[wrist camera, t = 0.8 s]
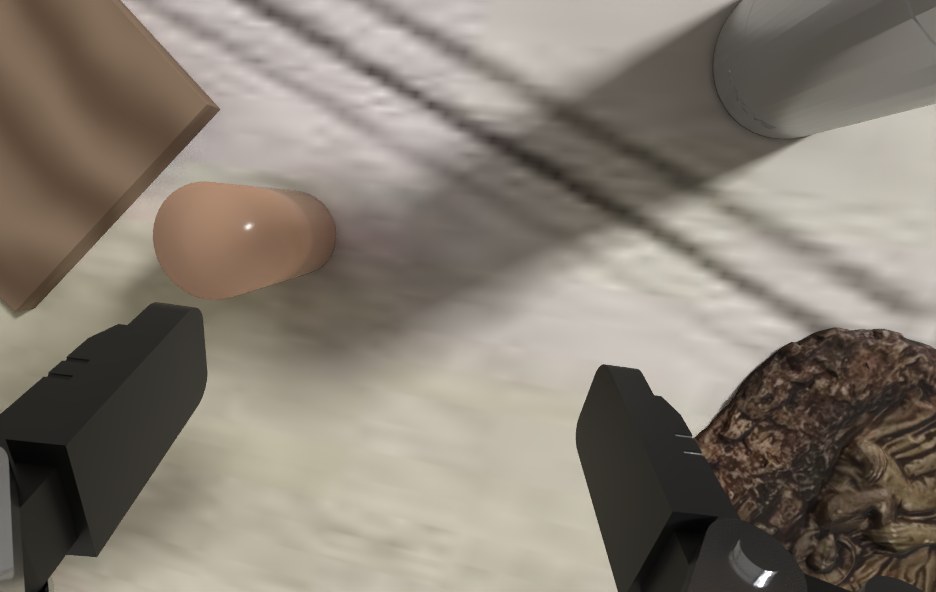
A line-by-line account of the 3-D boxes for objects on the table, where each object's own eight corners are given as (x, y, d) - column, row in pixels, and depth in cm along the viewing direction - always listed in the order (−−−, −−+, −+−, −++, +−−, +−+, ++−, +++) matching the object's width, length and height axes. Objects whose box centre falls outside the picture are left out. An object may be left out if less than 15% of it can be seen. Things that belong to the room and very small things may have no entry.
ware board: (40, -88, 31) (17, -103, 30) (220, 109, 32) (206, 104, 31) (-136, 136, 34) (-165, 133, 33) (34, 308, 36) (14, 312, 34)
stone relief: (1202, 607, 30) (773, 843, 34) (1112, 556, 34) (742, 772, 39) (947, 274, 27) (527, 575, 32) (886, 266, 32) (524, 532, 37)
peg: (295, 173, 33) (206, 155, 23) (353, 236, 33) (291, 246, 23) (238, 230, 34) (129, 237, 24) (295, 291, 34) (212, 323, 24)
